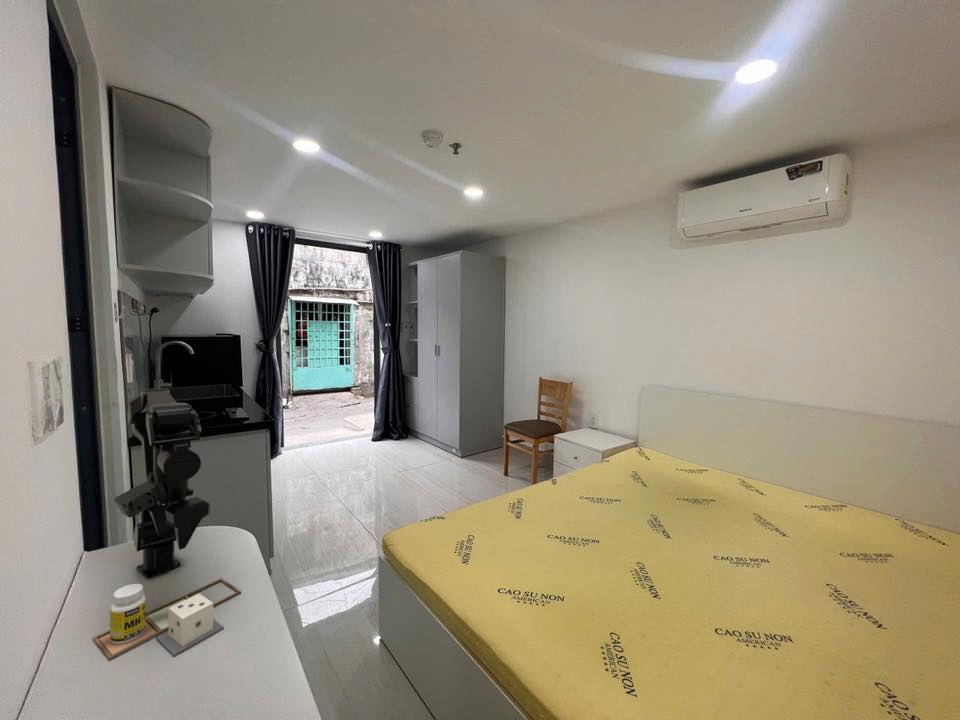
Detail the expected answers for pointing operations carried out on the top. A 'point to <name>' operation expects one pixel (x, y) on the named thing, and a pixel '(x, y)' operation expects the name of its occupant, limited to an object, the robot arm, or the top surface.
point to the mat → (176, 648)
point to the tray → (152, 624)
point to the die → (190, 619)
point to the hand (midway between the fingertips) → (171, 541)
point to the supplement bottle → (127, 614)
